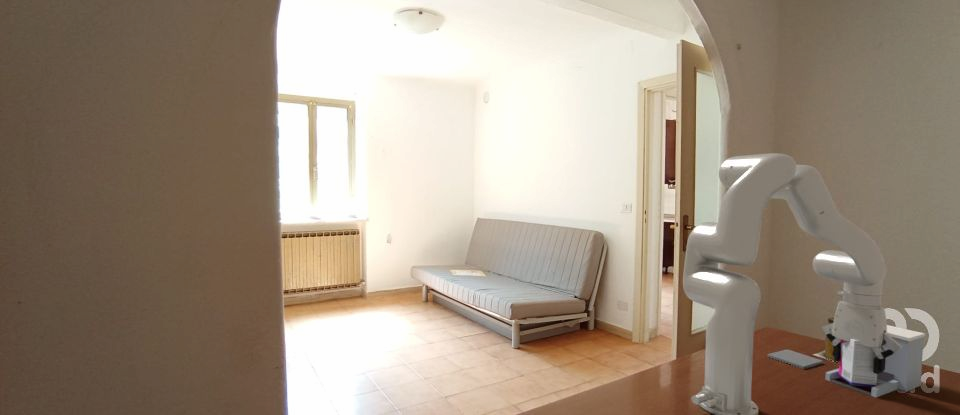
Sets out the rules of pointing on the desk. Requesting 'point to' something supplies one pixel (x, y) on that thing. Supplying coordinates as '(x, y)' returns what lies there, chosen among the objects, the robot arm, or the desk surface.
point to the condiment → (827, 347)
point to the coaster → (795, 358)
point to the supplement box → (857, 364)
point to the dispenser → (898, 363)
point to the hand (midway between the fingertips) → (857, 366)
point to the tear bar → (850, 387)
